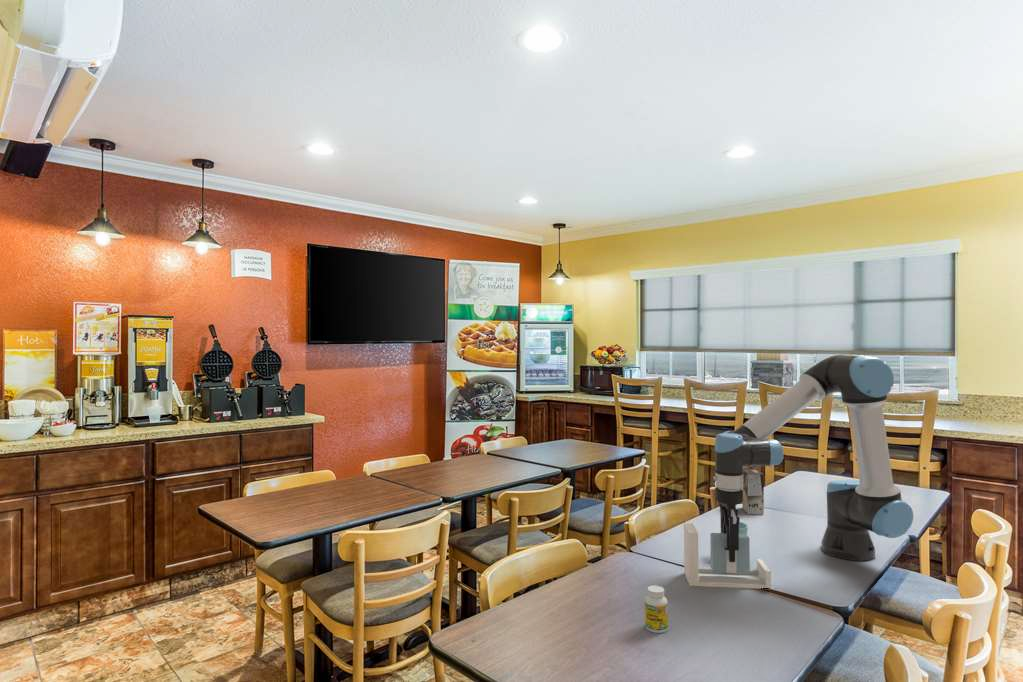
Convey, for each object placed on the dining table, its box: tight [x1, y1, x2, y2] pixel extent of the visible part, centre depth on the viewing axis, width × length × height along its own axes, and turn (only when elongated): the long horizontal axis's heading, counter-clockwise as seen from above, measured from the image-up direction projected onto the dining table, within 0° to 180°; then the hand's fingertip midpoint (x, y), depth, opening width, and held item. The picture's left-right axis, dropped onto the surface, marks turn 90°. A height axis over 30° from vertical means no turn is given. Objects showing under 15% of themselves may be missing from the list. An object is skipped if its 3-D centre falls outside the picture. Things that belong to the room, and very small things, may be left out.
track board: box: [683, 522, 772, 590], centre depth 169 cm, size 22×9×15 cm, turn 82°
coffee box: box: [742, 468, 765, 516], centre depth 235 cm, size 9×6×16 cm
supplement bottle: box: [644, 585, 669, 634], centre depth 142 cm, size 5×5×10 cm
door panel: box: [709, 532, 751, 573], centre depth 169 cm, size 10×4×10 cm, turn 82°
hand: (729, 569), depth 169 cm, fingers closed on door panel, 3 cm apart
